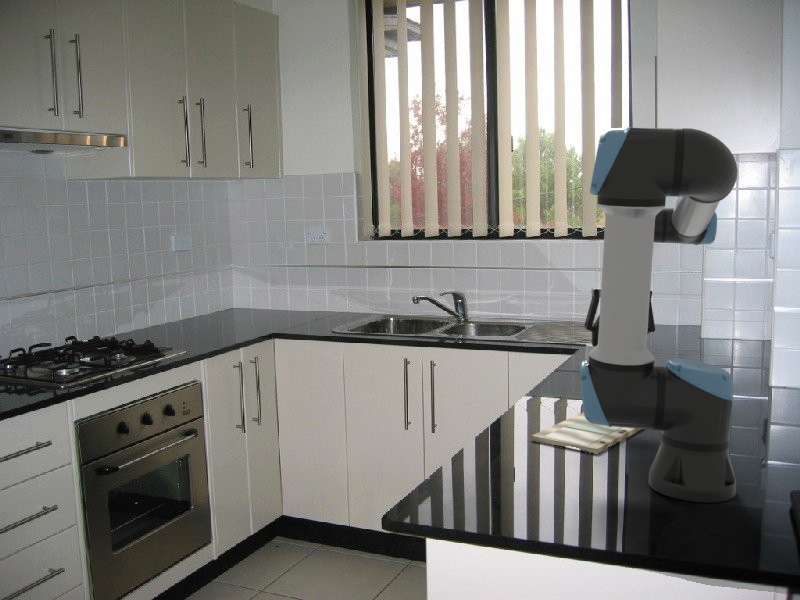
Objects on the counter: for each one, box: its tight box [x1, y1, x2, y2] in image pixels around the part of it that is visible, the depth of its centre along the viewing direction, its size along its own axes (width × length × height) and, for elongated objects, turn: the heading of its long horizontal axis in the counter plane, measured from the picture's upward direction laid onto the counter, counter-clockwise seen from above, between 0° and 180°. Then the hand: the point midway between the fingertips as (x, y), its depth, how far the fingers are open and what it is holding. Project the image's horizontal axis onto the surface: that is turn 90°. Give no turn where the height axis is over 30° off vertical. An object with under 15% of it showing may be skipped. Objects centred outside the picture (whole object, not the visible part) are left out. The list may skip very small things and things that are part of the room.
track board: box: [531, 411, 642, 455], centre depth 192 cm, size 35×15×1 cm, turn 144°
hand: (617, 360), depth 198 cm, fingers closed on game die, 9 cm apart
